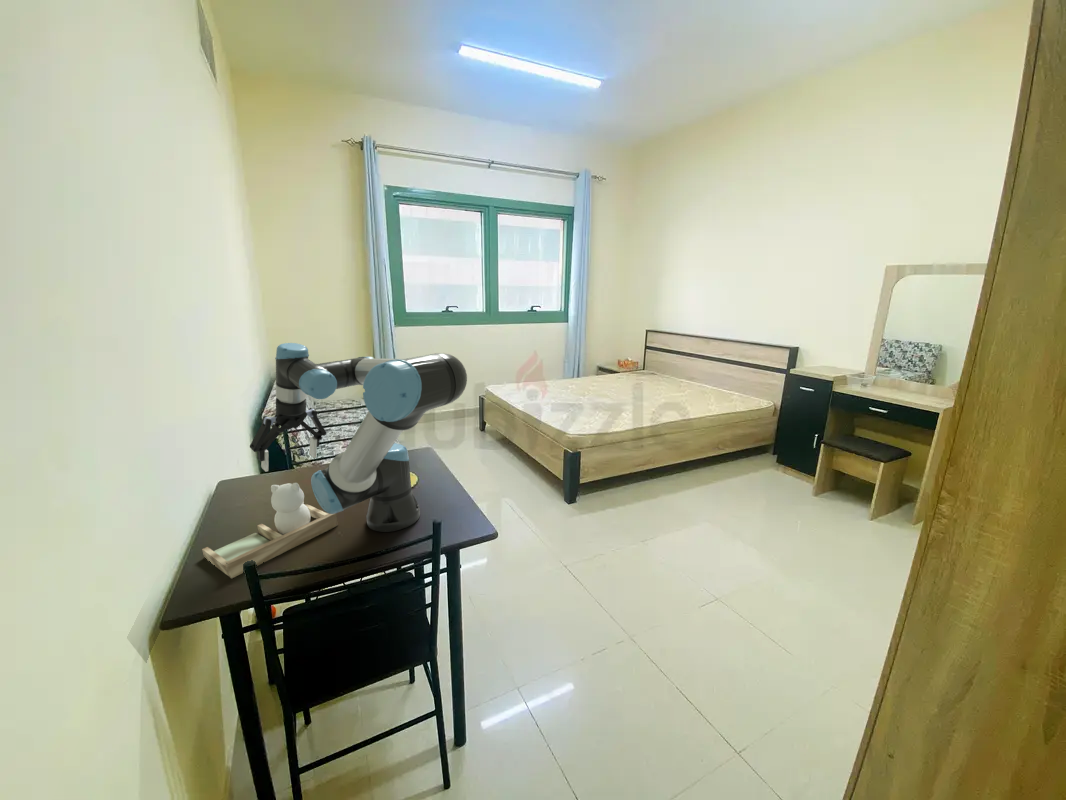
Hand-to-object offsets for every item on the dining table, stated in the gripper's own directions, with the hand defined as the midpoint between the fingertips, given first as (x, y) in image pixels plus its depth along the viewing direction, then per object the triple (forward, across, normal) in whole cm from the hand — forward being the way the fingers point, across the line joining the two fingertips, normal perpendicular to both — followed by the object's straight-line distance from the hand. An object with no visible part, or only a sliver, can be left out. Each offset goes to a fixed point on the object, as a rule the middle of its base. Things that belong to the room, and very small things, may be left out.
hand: (289, 462), depth 126 cm
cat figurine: (+15, +4, +12) cm, 19 cm away
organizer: (+14, +10, +14) cm, 22 cm away
